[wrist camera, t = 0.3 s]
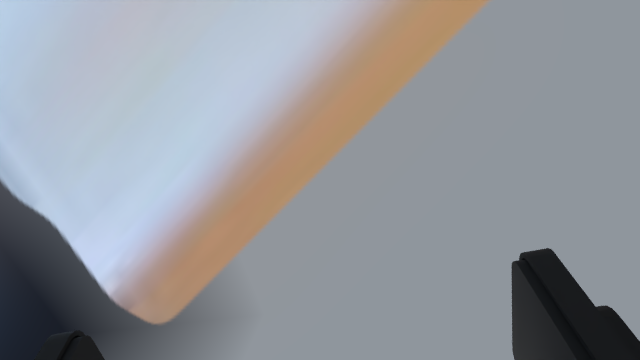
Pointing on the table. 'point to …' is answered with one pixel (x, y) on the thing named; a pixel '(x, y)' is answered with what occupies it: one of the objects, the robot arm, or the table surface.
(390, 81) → the table surface
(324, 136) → the table surface
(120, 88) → the table surface
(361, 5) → the table surface
